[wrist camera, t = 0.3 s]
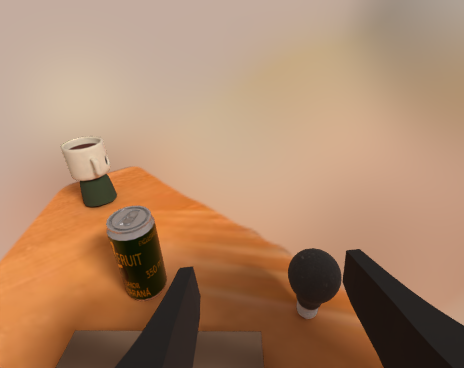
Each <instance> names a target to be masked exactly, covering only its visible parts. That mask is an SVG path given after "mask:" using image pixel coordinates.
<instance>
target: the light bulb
mask: <svg viewBox="0 0 464 368" xmlns="http://www.w3.org/2000/svg"><path fill="white" fill-rule="evenodd" d="M288 278H289V282H290V285H291V287H292V289H293V291H294V292H295V293H296V296H297V311H298V313H299V314H300V316H302V317H303V318H307V319H311V318H313V317H315V315H316V314H317V311H318V308H319V307H320V305H321V303H324V302H327V301H329V300H330V299H332V298H333V297H334V296H335V295H336V293H337V292H338V290H339V288H340V285H341V271H340V268H339V266H338V264H337V262H336V261H335V259H334V258H333V257H332V256H331V255H329V254H328V253H327V252H324V251H322V250H320V249H314V248H312V249H305V250H303V251H300V252H299V253H297V254H296V255H295V256H294V257H293V259H292V260H291V262H290V265H289V269H288Z"/></svg>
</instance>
